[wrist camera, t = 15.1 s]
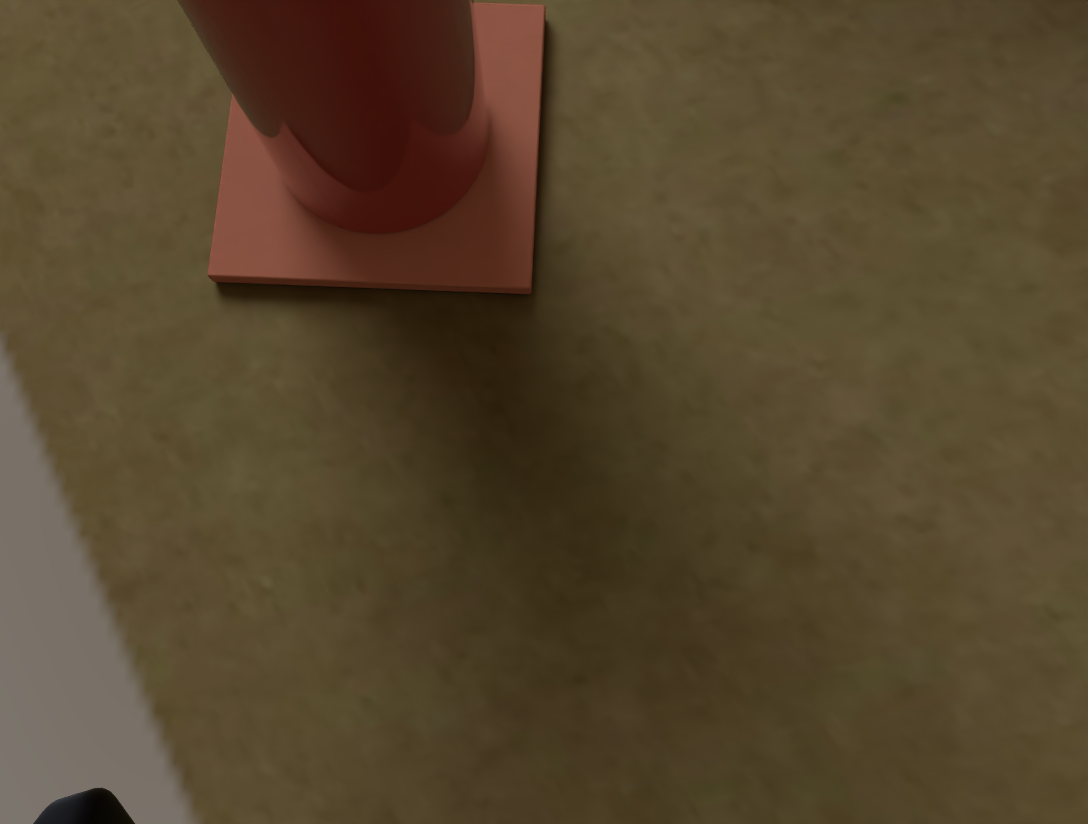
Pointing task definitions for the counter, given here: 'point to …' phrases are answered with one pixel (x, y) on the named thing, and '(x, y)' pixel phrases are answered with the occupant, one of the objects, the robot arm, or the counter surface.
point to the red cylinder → (357, 100)
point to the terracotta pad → (424, 251)
